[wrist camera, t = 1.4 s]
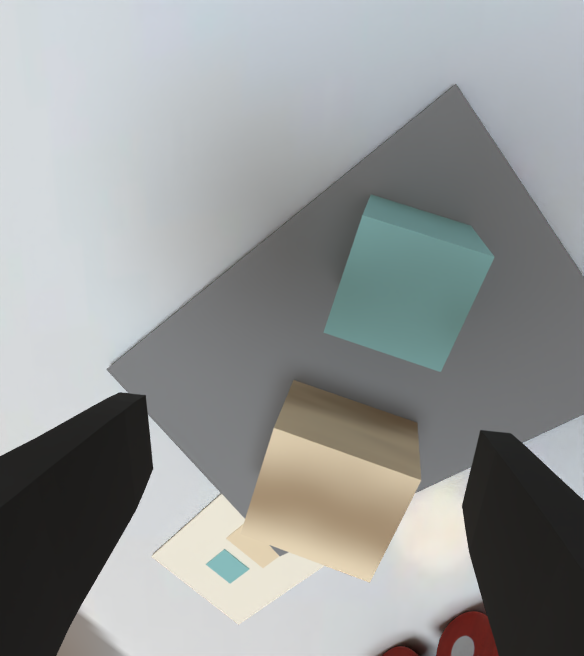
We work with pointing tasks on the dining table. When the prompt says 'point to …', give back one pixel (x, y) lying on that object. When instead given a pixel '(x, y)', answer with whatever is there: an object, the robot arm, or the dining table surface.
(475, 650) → the toy fire truck
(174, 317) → the mat
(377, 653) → the dining table surface
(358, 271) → the teal brick
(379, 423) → the base block
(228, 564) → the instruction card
